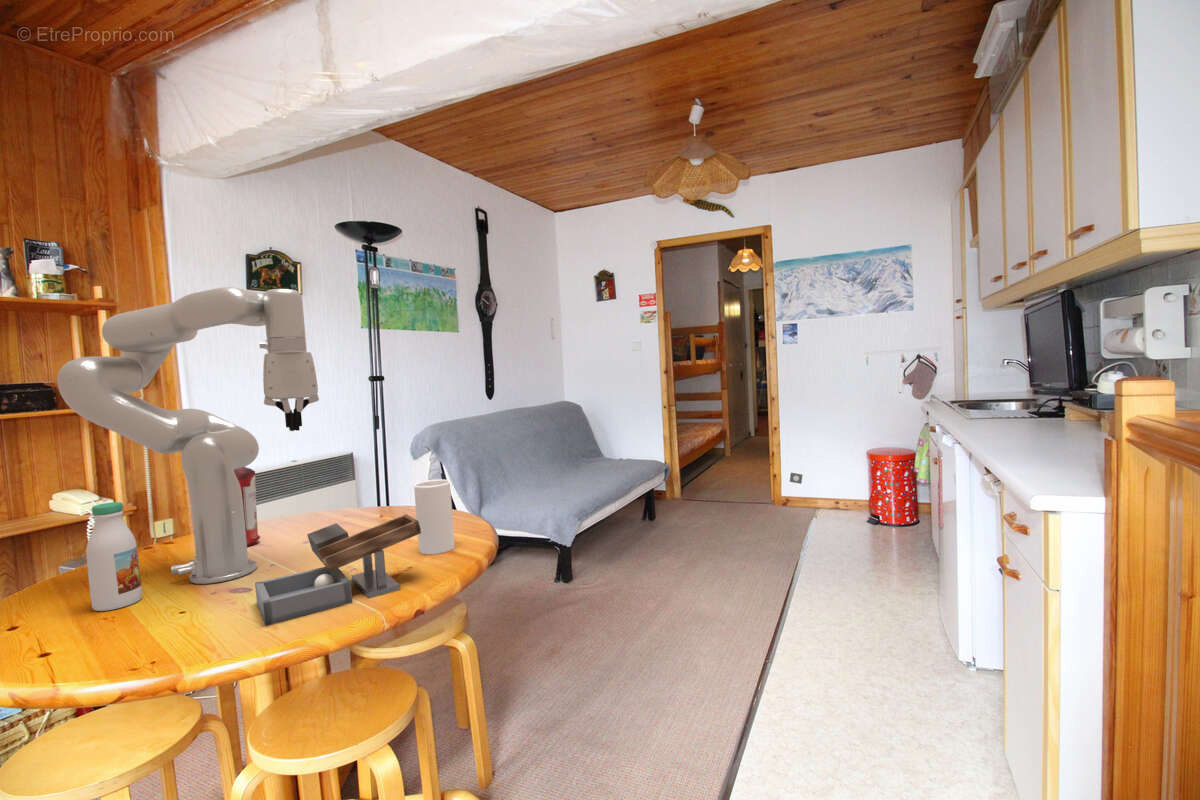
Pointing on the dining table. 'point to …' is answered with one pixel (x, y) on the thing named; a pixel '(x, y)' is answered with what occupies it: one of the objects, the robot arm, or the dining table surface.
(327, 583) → the ball
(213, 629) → the dining table surface
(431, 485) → the cup
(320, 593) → the tray
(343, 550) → the trough
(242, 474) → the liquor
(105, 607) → the milk bottle
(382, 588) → the pivot stand
